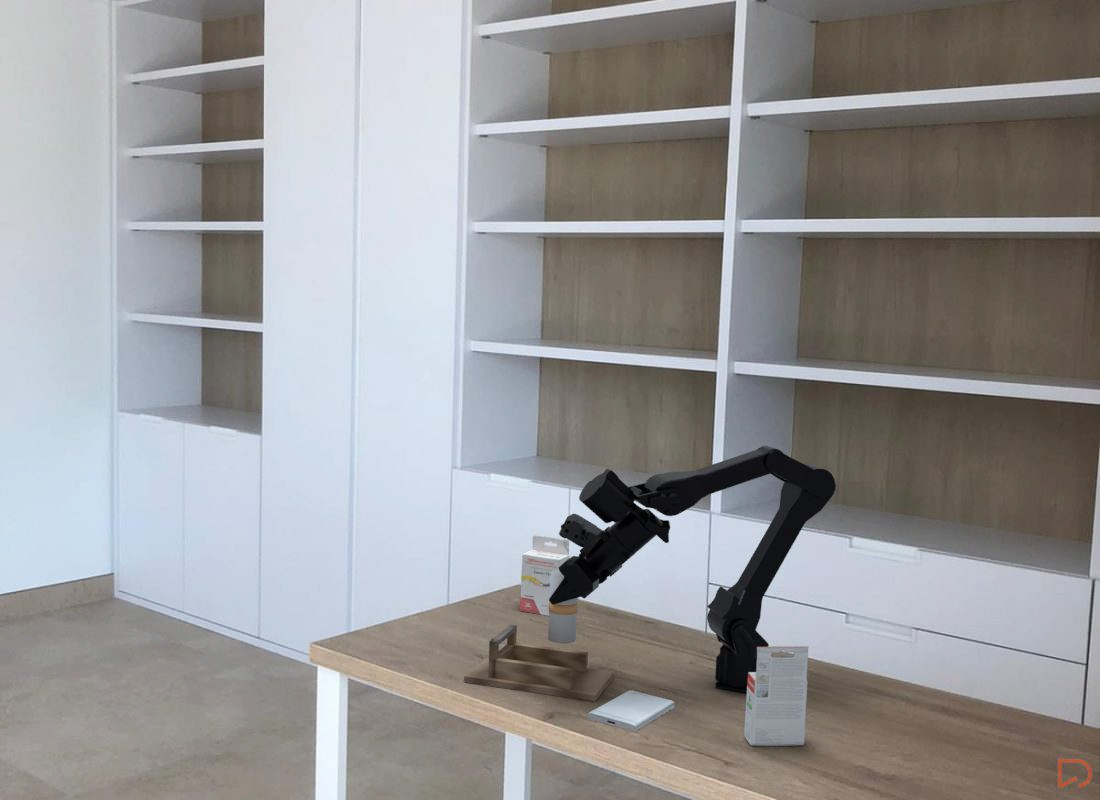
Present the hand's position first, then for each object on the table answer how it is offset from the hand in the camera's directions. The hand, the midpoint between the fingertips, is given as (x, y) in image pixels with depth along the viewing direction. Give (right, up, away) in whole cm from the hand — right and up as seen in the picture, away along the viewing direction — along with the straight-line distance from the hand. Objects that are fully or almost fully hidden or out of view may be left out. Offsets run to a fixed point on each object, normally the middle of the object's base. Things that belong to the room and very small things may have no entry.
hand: (555, 598), depth 184 cm
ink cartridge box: (-2, -10, +41) cm, 42 cm away
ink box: (+31, -17, -21) cm, 41 cm away
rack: (-3, -13, +1) cm, 14 cm away
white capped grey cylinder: (+1, -7, 0) cm, 7 cm away
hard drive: (+11, -16, -12) cm, 23 cm away
